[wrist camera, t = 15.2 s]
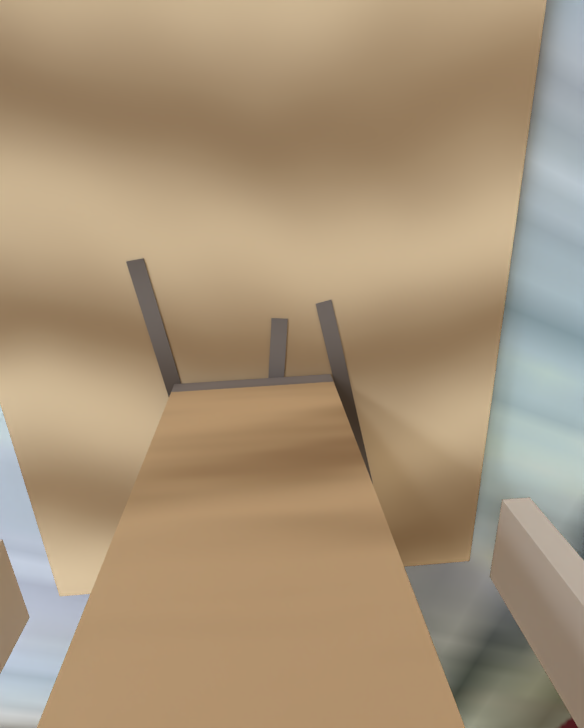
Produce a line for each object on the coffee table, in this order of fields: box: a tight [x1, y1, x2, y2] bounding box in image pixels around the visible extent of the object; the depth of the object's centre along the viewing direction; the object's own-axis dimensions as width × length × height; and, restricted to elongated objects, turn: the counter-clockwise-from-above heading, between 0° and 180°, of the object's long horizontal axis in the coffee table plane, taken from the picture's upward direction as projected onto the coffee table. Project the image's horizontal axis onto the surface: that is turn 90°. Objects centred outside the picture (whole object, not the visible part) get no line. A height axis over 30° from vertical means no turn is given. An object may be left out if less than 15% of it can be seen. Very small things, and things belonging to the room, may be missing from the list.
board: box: [0, 0, 547, 596], centre depth 15 cm, size 20×16×1 cm
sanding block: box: [37, 374, 465, 728], centre depth 11 cm, size 7×5×12 cm
